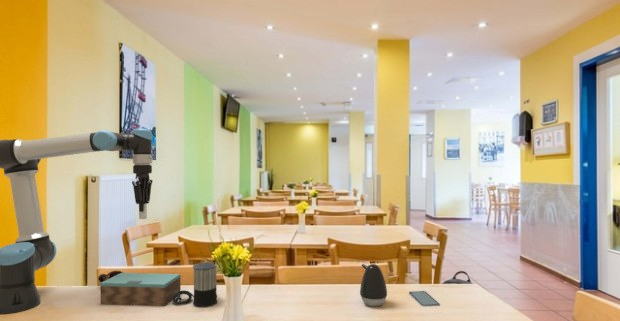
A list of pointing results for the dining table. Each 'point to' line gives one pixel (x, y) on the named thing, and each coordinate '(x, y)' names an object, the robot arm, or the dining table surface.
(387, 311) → the dining table surface
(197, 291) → the milk frother
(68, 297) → the dining table surface
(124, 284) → the lid
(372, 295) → the pump dispenser
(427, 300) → the smartphone
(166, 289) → the storage box
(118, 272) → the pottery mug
